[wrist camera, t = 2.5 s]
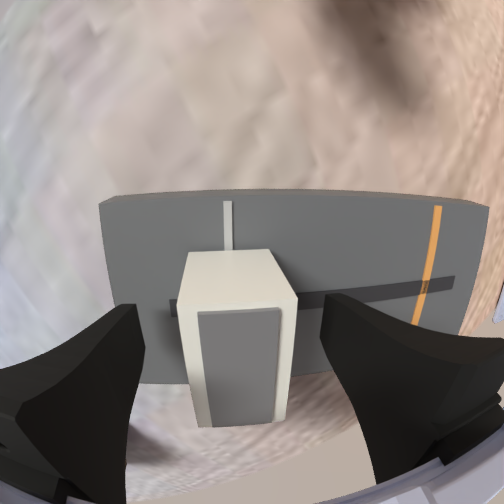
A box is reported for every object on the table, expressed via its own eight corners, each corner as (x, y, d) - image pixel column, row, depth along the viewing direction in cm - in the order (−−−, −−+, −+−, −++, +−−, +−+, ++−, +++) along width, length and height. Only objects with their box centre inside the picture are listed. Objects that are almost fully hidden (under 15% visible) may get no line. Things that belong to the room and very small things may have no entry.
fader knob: (269, 248, 11) (299, 301, 7) (265, 353, 12) (285, 423, 9) (188, 252, 10) (175, 308, 7) (199, 357, 12) (198, 431, 8)
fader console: (467, 200, 14) (490, 207, 12) (440, 323, 17) (457, 338, 15) (114, 196, 12) (97, 203, 10) (142, 359, 14) (136, 384, 12)
